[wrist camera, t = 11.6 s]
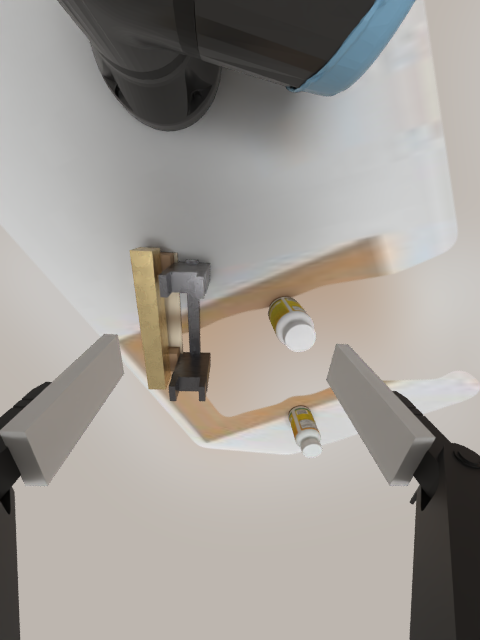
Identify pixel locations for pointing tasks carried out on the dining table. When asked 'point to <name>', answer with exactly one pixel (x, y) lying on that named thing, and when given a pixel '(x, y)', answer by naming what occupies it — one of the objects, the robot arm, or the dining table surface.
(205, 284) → the rack
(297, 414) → the supplement bottle
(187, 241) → the dining table surface
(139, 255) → the rail
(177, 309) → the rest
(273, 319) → the pill bottle
